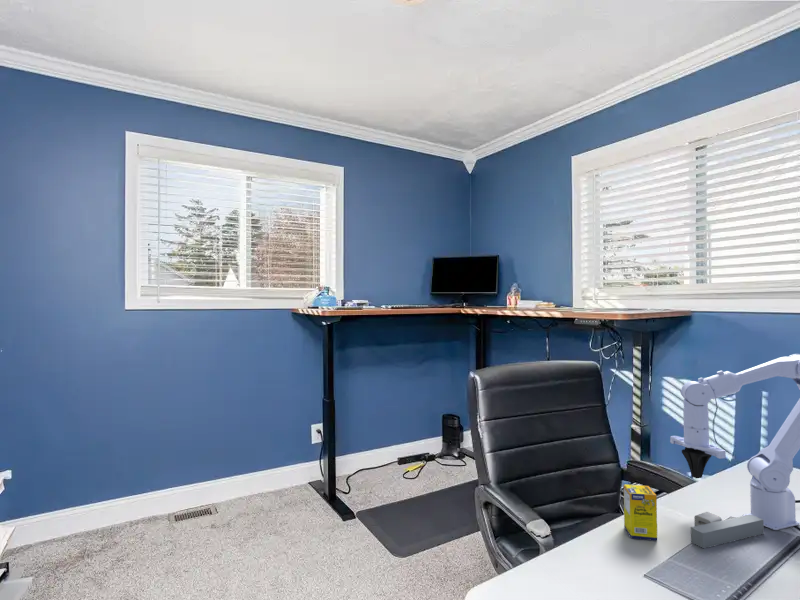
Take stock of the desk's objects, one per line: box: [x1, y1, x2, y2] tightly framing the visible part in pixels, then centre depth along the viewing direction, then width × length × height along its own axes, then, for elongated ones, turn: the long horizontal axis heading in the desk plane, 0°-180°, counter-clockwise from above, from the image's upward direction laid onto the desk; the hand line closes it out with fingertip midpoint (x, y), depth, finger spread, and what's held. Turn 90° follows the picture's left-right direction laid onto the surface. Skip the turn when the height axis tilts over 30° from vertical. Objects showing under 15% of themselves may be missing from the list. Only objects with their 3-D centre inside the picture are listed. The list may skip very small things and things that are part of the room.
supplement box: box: [623, 484, 658, 542], centre depth 112 cm, size 6×6×11 cm
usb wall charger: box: [693, 511, 723, 527], centre depth 113 cm, size 4×7×4 cm, turn 116°
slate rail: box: [690, 514, 765, 549], centre depth 110 cm, size 20×3×4 cm, turn 109°
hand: (697, 477), depth 123 cm, fingers closed
